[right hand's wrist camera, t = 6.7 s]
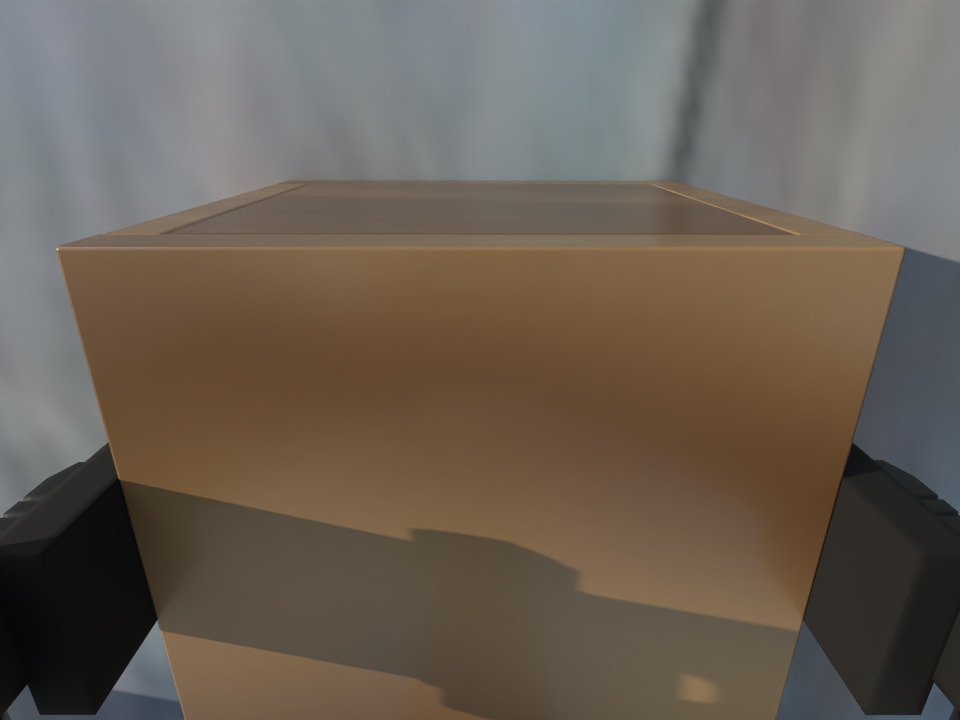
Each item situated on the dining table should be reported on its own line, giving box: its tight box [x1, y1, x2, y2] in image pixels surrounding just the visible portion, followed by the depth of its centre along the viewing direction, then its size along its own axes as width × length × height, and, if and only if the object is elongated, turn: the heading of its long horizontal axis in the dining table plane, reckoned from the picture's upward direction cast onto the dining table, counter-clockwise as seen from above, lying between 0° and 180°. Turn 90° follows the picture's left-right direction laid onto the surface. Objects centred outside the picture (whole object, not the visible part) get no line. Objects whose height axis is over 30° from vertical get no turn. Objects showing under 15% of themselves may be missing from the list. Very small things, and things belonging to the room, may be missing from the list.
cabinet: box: [56, 181, 905, 720], centre depth 15 cm, size 20×10×9 cm, turn 0°
